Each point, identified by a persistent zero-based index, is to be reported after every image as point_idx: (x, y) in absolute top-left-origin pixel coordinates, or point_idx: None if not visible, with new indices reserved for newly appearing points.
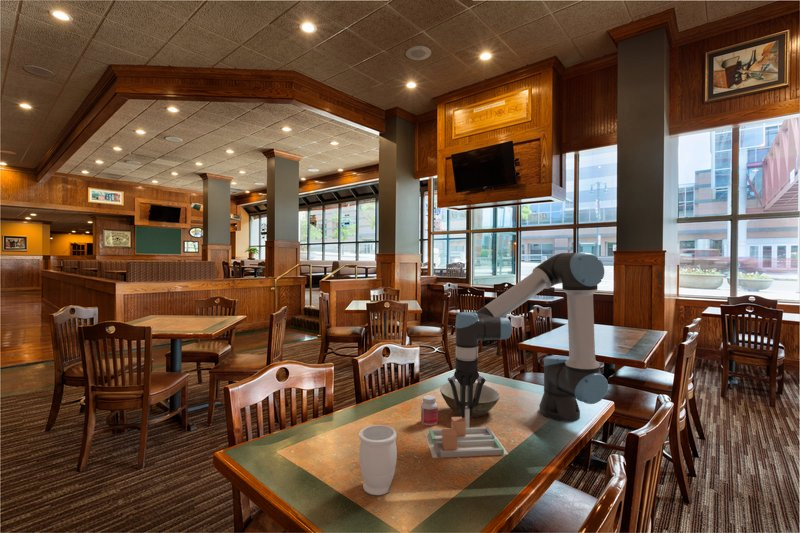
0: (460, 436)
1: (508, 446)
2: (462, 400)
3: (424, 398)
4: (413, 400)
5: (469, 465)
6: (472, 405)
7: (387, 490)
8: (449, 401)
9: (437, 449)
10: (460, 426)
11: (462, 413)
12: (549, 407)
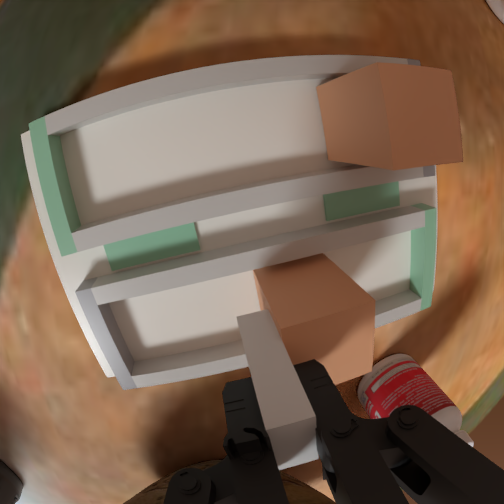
0: (291, 257)
1: (30, 266)
2: (389, 485)
3: (473, 443)
4: None
5: (243, 33)
6: (235, 473)
7: None
8: (325, 498)
9: None
10: (310, 297)
11: (323, 385)
12: None
